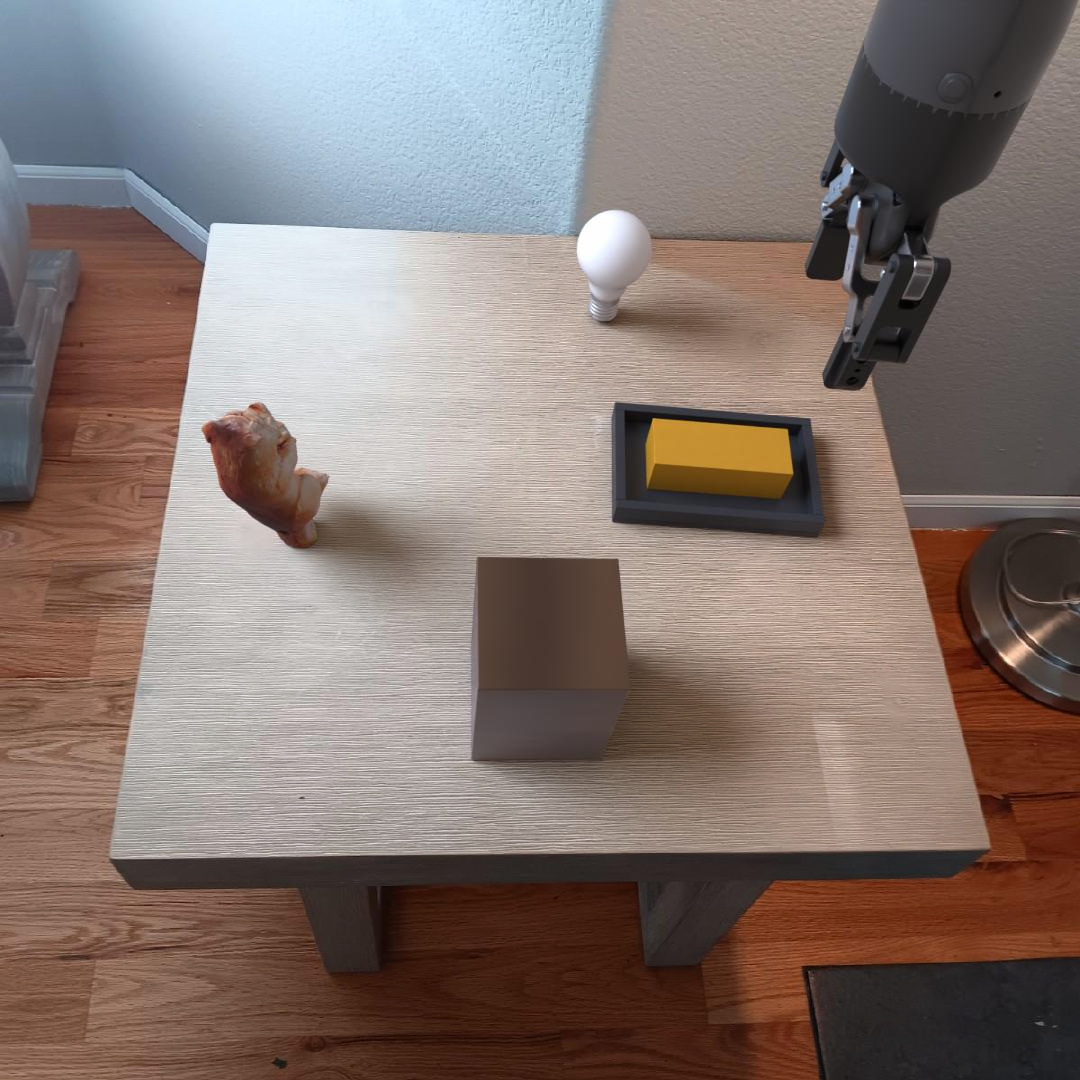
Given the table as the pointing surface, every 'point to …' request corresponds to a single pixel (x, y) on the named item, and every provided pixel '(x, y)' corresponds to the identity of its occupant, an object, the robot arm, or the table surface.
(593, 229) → the lightbulb
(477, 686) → the stand
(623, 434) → the tray
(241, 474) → the figurine
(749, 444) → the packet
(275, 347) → the table surface
